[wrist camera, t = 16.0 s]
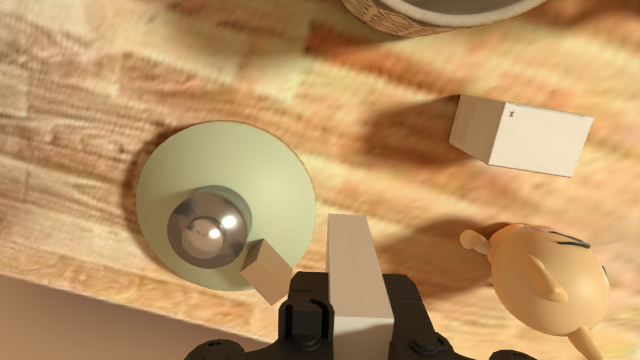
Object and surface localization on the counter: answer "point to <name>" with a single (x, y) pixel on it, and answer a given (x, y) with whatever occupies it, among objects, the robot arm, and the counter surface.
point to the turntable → (246, 179)
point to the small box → (519, 135)
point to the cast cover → (210, 227)
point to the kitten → (547, 281)
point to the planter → (434, 14)
